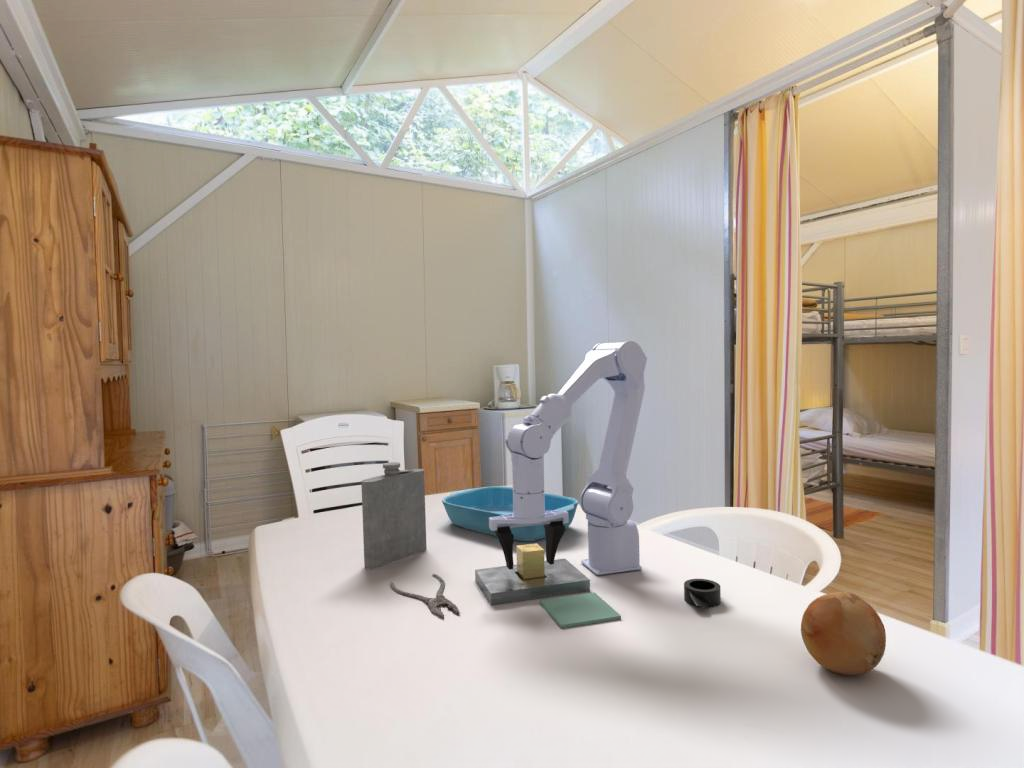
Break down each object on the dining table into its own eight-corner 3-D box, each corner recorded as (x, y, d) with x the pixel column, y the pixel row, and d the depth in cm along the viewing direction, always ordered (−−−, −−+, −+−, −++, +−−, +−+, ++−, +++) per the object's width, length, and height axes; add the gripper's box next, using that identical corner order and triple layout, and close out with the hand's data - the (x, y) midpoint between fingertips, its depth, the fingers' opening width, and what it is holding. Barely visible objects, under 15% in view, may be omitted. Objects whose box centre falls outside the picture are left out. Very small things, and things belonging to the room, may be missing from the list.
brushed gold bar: (537, 580, 111) (537, 543, 111) (545, 588, 107) (544, 549, 107) (517, 583, 110) (516, 545, 110) (523, 591, 106) (522, 552, 106)
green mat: (594, 595, 104) (594, 592, 104) (621, 618, 94) (620, 615, 94) (539, 603, 101) (539, 600, 101) (561, 628, 91) (561, 625, 91)
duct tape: (664, 603, 100) (664, 586, 100) (699, 587, 106) (699, 571, 106) (705, 618, 94) (705, 600, 94) (739, 600, 100) (739, 583, 100)
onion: (825, 644, 84) (825, 574, 84) (902, 674, 76) (902, 597, 75) (784, 664, 79) (784, 590, 79) (862, 699, 71) (862, 616, 70)
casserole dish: (426, 524, 152) (425, 496, 152) (488, 506, 169) (487, 481, 168) (536, 553, 127) (535, 520, 127) (597, 529, 144) (596, 500, 143)
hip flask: (371, 570, 119) (367, 470, 118) (358, 566, 122) (354, 468, 121) (429, 548, 132) (426, 458, 131) (417, 545, 134) (414, 456, 133)
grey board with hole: (565, 568, 117) (565, 558, 117) (590, 590, 105) (589, 579, 105) (475, 580, 112) (474, 569, 112) (491, 605, 100) (490, 593, 100)
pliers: (429, 570, 117) (492, 600, 101) (430, 574, 117) (492, 605, 101) (384, 583, 111) (443, 617, 95) (384, 587, 111) (443, 622, 95)
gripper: (558, 483, 114) (559, 553, 114) (484, 489, 110) (485, 562, 110) (572, 490, 107) (573, 565, 108) (493, 497, 103) (495, 575, 104)
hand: (530, 565), depth 109 cm, fingers open, 7 cm apart
